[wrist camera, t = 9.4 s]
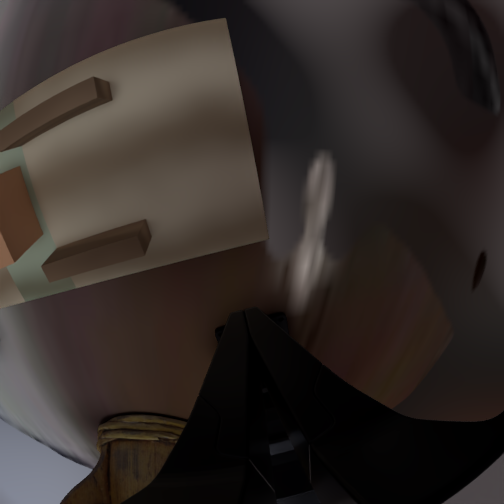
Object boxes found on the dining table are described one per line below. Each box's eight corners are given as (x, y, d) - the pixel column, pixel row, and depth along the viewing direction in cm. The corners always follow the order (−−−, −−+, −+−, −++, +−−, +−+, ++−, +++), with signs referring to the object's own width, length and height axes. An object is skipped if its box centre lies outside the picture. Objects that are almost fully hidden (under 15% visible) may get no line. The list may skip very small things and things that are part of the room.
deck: (259, 222, 20) (279, 257, 15) (-6, 296, 18) (-30, 329, 14) (221, 32, 14) (230, 1, 9) (-54, 173, 12) (-89, 191, 7)
